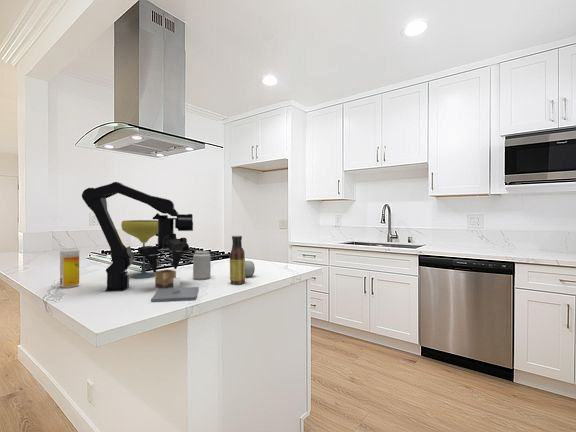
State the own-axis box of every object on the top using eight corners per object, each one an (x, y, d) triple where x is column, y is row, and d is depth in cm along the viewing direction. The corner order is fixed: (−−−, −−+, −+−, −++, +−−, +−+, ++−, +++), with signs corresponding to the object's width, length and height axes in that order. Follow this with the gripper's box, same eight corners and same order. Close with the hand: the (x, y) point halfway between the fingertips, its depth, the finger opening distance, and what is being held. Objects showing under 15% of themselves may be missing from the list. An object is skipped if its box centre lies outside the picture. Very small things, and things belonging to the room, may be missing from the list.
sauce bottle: (239, 280, 132) (239, 234, 132) (248, 283, 128) (248, 235, 127) (226, 283, 128) (226, 235, 127) (235, 285, 123) (235, 236, 123)
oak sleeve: (163, 288, 117) (163, 273, 117) (155, 286, 120) (155, 271, 120) (175, 286, 121) (175, 270, 121) (167, 284, 124) (167, 269, 124)
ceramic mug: (255, 277, 139) (255, 260, 139) (238, 279, 135) (238, 261, 135) (246, 273, 148) (246, 257, 148) (230, 275, 144) (230, 258, 144)
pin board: (151, 302, 100) (151, 283, 100) (159, 291, 114) (159, 274, 113) (195, 300, 103) (195, 282, 103) (198, 289, 117) (198, 273, 116)
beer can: (82, 285, 120) (82, 247, 120) (66, 289, 115) (66, 249, 114) (73, 283, 123) (73, 246, 123) (56, 287, 117) (56, 248, 117)
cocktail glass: (116, 275, 140) (116, 220, 140) (157, 270, 152) (157, 220, 152) (127, 282, 127) (128, 221, 126) (171, 276, 139) (171, 221, 138)
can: (205, 280, 132) (205, 252, 131) (189, 279, 133) (189, 252, 133) (213, 276, 139) (213, 250, 139) (198, 276, 141) (198, 249, 140)
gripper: (157, 233, 108) (156, 277, 108) (198, 230, 124) (198, 269, 124) (138, 231, 114) (138, 273, 114) (180, 229, 130) (180, 266, 130)
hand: (165, 270), depth 120 cm, fingers open, 9 cm apart
